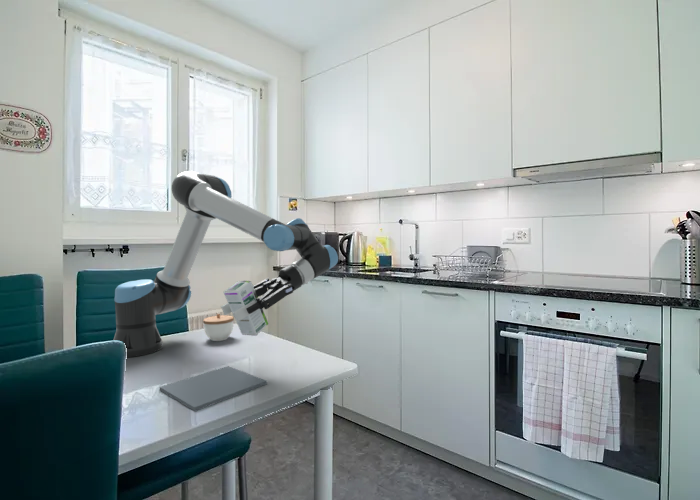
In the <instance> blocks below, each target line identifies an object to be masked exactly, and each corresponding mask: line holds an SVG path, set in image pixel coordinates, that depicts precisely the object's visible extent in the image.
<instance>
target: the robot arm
mask: <svg viewBox="0 0 700 500" xmlns="http://www.w3.org/2000/svg"><path fill="white" fill-rule="evenodd" d="M171 194H172V196H173V198H174V199H175V201H176V202H177V203H179V204H180V205H182V206H184V209H185V211H186V213H185V215H184V217H183V220H182V223H181V225H180V227H179V230H178V233H177V236H176V237H175V240H174V243H173V245H172V248H171V250H170V253H169V256H168V258H167V261H166V263H165V265H164V268H163V269H162V270H160V271H158V272H157V273H156V276H155V278H154V280H152V279H147V278H145V279H137V280H130V281H126V282H124V283H123V282H122V283H120V284H119V285H116V288H115V289H114V299H113V300H114V308H115V309H114V310H115V325H116V326H115V328H116V331H115V333H114V337H113V340H120V341H123V342H124V343H125V345H126V348H127V357H126V358H133V357H139V356H144V355H150V354H152V353H153V354H154V353H155V352H158V351H160V350H162V349H163V340H162V337H161V335H160V332H159V329H158V328H157V322H156V321H157V320H156V316H157V315H162V314H166V313H169V312H175V311H177V310H180V309H183V308H184V307H185V306H186V305H187V304H188V303H189V301H190V300H191V297H192V291H191V285H190V283H191V280H190V279H189V278H188V277H189V275H190V273H191V271H192V267H193V265H194V262H195V260H196V258H197V256H198V253H199V251H200V249H201V245H202V243H203V242H204V241H203V240H204V239H205V236H206V233H207V232H208V229H209V227H210V224H211V222H212V221H213V220H216V219H218V220H219V221H222V222H223V223H225V224H228V225H229V226H232V227H234V228H235V229H237V230H240V231H241V232H243V233H245V234H247V235H249V236H251V237H253V238H254V239H257V240H259V241H261V242H263V243H264V244H265V246H266V247H267V248H268V249H269V250H271V251H275V252H284V251H292V250H293V251H294V250H296V252H297V253H298V254H299V256H300V257H301V258H299V259H297V260H295V261H294V262H292V263H290V264H288V265H287V266H285V267H283V268H281V269H280V270H279V271H278V277H274V278H271V279H270V277H266V278H264V279H263V280H261V281H260V282H257V283H255V284H253V287H254V289H255V292H256V294H257V297H258V298H257V299H256V301H257V303H256V301H255V300H253V301H252V302H250V303H248V304H247V305H245V306H243V307H241V308H240V309H238V310H236V311H234V312H233V313H232V311H231V309H230V306H229V304H228V302H226V303H225V304H223V305H221V306H220V308H221V310H222V313H223V315H228V314H230V313H232V315H233V314H234V315H233V317H234V316H235V318H236V320H235V322H236V321H240V320H241V319H243V318H245V317H246V316H248V315H250V314H251V313H253V312H255V311H256V310H258V309H264V310H268V309H269V308H271V307H272V306H274V305H275V304H276V303H278V302H279V301H281V300H283V299H284V298H286V297H288V296H290V295H291V294H293V293H294V292H295V291H297V290H298V289H299V288H301V287H302V286H304V285H308V284H309V282H311V281H313V280H314V279H316V278H317V277H319V276H321V275H322V274H324V273H327V272H328V271H329V270H331V269H332V268H334V267H335V266H337V264H338V263H339V255H338V253H337V251H336V250H335V248H334V247H332V246H331V245H329V244H324V245H323V244H321V242H320V241H319V240H318V239H317V237H316V235H315V234H314V233H313V232H312V230H311V229H310V227H309V225H308V224H307V223H306V222H305V221H304V220H303V219H302V218H300V217H298V218H294V219H292V220H290V221H289V222H288V223H286V224H285V223H283V222H281V221H279V220H278V219H277V220H276V219H275V218H273V217H271V216H269V215H267V214H265V213H263V212H261V211H259V210H257V209H255V208H252V207H250V206H248V205H246V204H244V203H242V202H239V201H238V200H236V199H234V198H232V197H233V196H232V189H231V187H230V185H229V183H228V182H227V181H225V180H224V179H222V178H221V177H218V176H216V175H211V174H207V173H206V174H205V173H202V172H198V171H197V172H196V171H193V170H191V171H190V170H188V171H187V170H186V171H183V172H181V173H179V174H178V175H177V176H175V177H174V179H173V180H172V183H171ZM235 318H234V319H235Z"/></svg>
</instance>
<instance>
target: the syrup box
mask: <svg viewBox="0 0 700 500" xmlns="http://www.w3.org/2000/svg"><path fill="white" fill-rule="evenodd" d="M253 285H254V284H253V282H252V281H251V280H239V281H235V283H233V284H232V285H230V286H229V287H228V288H227V289H225V290H223V295H224V297H225V300H226V301H227V302H226V303H228V304H229V306H230V309H231V311H232V312H231V313H232V315H233V317H234V319H235V323H236V324H237V326H238V328H239V331H240V333H241V335H243V336H251V337H253V336H255V337H256V336H258V335H259V334H260V332H262V330H264V329H265V328H266V327H267V326H268V325H269V321H268V319H267V316H266V315H265V312H264V310H263V309H264V308H263V309H258V310H256V311H255V312H253V313H251V314H250V315H248V316H246V317H245V318H243V319H241V320H240V321H236V318H235V316H234V314H233V312H234V311H236V310H238V309H240V308H241V307H243V306H245V305H247V304H248V303H250V302H252V301H253V300H255V301H256V299H257V298H259V297H257V294H256V292H255V289H254V287H253ZM256 303H257V301H256Z"/></svg>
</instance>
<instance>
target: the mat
mask: <svg viewBox="0 0 700 500" xmlns="http://www.w3.org/2000/svg"><path fill="white" fill-rule="evenodd" d="M267 384H268V380H266V379H263V378H261V377H260V376H259V377H258V376H256V375H253V374H250V373H248V372H245V371H243V370H240V369H237V368H235V367H233V366H230V365H227V366H223V367H219V368H217V369H214V370H211V371H207V372H205V373H201V374H198V375H193V376H192V377H188V378H185V379H181V380H177V381H174V382H171V383H168V384H166V385H162V386H159V391H160V392H162V393H163V394H165V395H167V396H168V397H171V398H172V399H174V400H175V401H177V402H179V403H181V404H182V405H184V406H186V407H187V408H189V409H191V410H192V411H194V412H195V411H199V410H201V409H203V408H207V407H209V406H212V405H215V404H217V403H220V402H223V401H225V400H227V399H231V398H233V397H235V396H238V395H241V394H244V393H246V392H249V391H251V390H255V389H257V388H260V387H263V386H264V385H267Z"/></svg>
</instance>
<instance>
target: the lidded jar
mask: <svg viewBox="0 0 700 500" xmlns="http://www.w3.org/2000/svg"><path fill="white" fill-rule="evenodd" d="M220 314H221V313H216V315H212V316H208V317H204V319H203V321H202V324H203V329H204V334H205V335H206V337H207V338H208V339H210V341H212V342H222V341H226V340H228V339H229V337H230V336H231V334H232V333H233V330H234V319H235V318H234V315H233V316H232V315H228V314H227V315H224V314H223V315H220Z"/></svg>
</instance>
